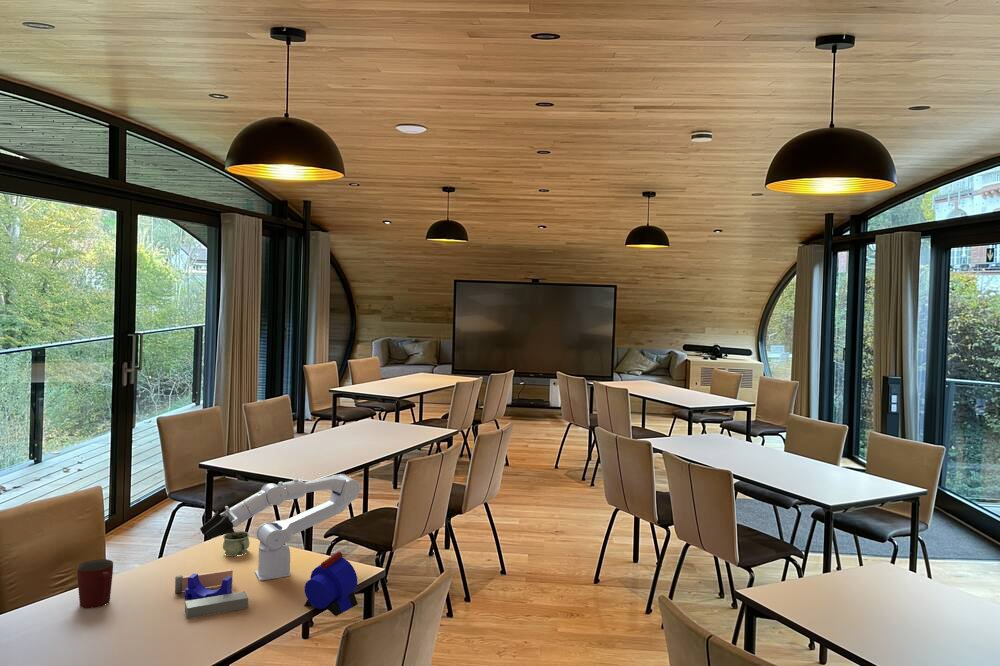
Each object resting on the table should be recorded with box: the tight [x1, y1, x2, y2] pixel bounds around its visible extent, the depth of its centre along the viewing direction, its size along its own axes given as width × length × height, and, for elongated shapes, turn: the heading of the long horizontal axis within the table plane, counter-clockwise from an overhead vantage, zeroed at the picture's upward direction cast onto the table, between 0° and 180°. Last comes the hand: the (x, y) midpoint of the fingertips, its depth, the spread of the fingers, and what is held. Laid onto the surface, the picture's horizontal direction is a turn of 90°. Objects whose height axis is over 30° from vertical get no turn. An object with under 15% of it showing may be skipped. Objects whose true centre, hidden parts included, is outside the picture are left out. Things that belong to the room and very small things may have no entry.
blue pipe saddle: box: [184, 573, 233, 600], centre depth 211 cm, size 12×4×6 cm, turn 85°
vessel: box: [222, 530, 251, 557], centre depth 247 cm, size 12×9×6 cm
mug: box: [76, 558, 114, 609], centre depth 203 cm, size 12×9×11 cm
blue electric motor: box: [303, 551, 359, 617], centre depth 208 cm, size 12×12×15 cm
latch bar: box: [174, 568, 234, 594], centre depth 217 cm, size 16×2×4 cm, turn 120°
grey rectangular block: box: [184, 590, 249, 620], centre depth 203 cm, size 16×5×3 cm, turn 120°
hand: (204, 533), depth 216 cm, fingers open, 7 cm apart
